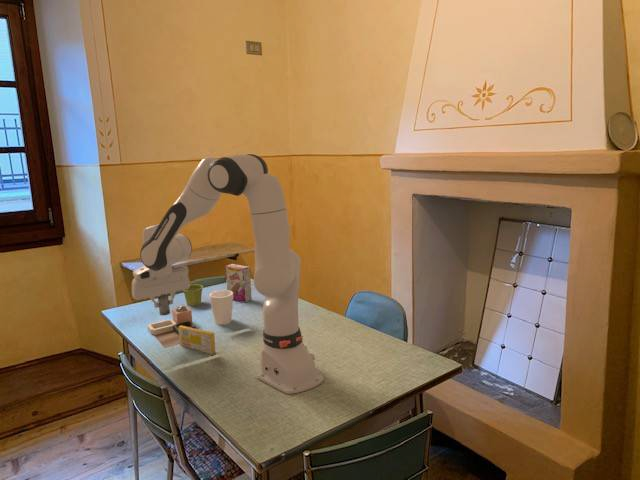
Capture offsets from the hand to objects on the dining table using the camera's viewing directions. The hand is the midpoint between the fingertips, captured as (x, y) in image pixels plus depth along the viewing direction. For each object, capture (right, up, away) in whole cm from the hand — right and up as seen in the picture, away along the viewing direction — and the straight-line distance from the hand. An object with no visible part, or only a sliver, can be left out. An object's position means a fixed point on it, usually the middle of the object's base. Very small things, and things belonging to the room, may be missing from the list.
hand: (163, 305), depth 172 cm
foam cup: (+17, -11, +22) cm, 30 cm away
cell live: (0, -3, +1) cm, 3 cm away
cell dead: (+1, -10, +20) cm, 23 cm away
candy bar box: (+19, -4, +50) cm, 54 cm away
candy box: (+13, -16, -2) cm, 21 cm away
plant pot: (-1, -6, +44) cm, 45 cm away
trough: (-6, -13, +16) cm, 21 cm away
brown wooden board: (+1, -13, +12) cm, 18 cm away
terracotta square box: (+1, -11, +21) cm, 24 cm away
